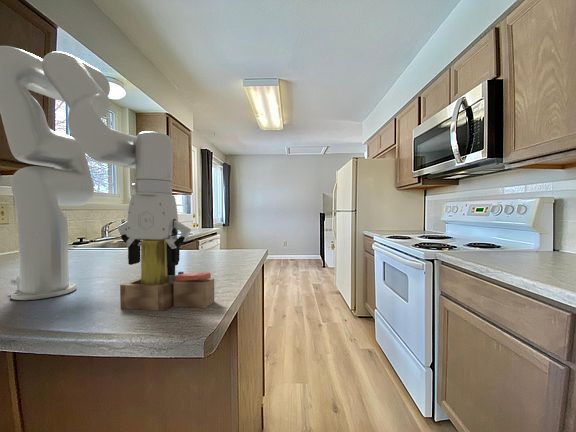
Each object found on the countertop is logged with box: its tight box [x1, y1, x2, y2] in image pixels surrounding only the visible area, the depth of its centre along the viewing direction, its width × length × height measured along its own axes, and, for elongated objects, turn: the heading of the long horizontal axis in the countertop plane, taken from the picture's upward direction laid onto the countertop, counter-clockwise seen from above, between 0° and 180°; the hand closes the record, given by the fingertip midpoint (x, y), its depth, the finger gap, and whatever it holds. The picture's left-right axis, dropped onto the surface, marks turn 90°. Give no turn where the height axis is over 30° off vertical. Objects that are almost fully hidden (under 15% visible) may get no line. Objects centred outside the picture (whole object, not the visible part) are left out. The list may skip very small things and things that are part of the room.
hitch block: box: [119, 271, 215, 312], centre depth 65 cm, size 18×10×7 cm, turn 81°
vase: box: [140, 240, 168, 285], centre depth 66 cm, size 6×6×14 cm
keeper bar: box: [174, 271, 212, 281], centre depth 64 cm, size 8×3×1 cm, turn 80°
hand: (153, 264), depth 66 cm, fingers open, 9 cm apart
